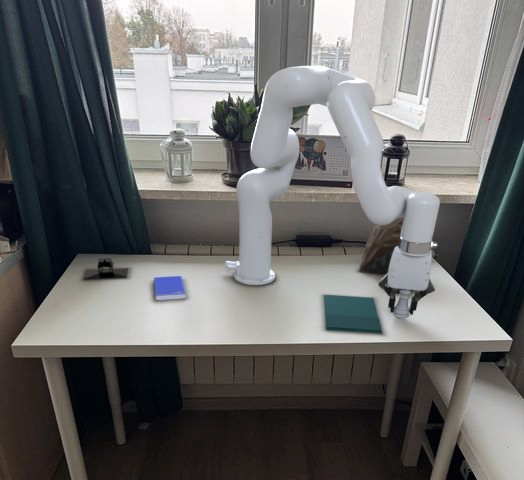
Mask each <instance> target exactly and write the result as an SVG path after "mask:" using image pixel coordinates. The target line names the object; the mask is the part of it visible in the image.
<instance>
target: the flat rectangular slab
mask: <svg viewBox="0 0 524 480" xmlns="http://www.w3.org/2000/svg"><path fill="white" fill-rule="evenodd" d="M323 301H324V313H325V314H324V317H325V330H326V331H339V332H353V333H368V334H383V330H382V325H381V320H380V318H379V316H378V311H377V307H376V304H375V300H374V297H366V296H351V295H350V296H349V295H335V294H323Z"/></svg>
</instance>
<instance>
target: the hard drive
mask: <svg viewBox="0 0 524 480" xmlns="http://www.w3.org/2000/svg"><path fill="white" fill-rule="evenodd" d="M153 283H154V293H155V294H154V295H155V300H156V301H164V300H165V301H167V300H182V299H186V290H185V286H184V285H185V284H184V282H183V277H182V275H174V276H173V275H172V276H171V275H170V276H155V277H153Z"/></svg>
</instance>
